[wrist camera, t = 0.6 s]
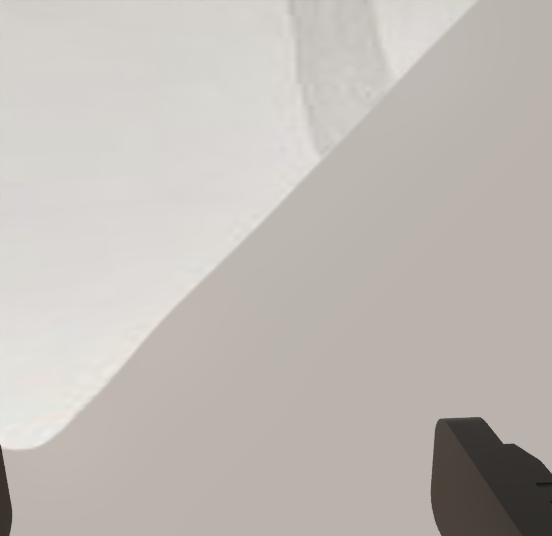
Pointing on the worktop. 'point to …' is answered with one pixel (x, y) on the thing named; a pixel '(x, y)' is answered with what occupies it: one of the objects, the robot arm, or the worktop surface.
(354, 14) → the worktop surface
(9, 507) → the robot arm
